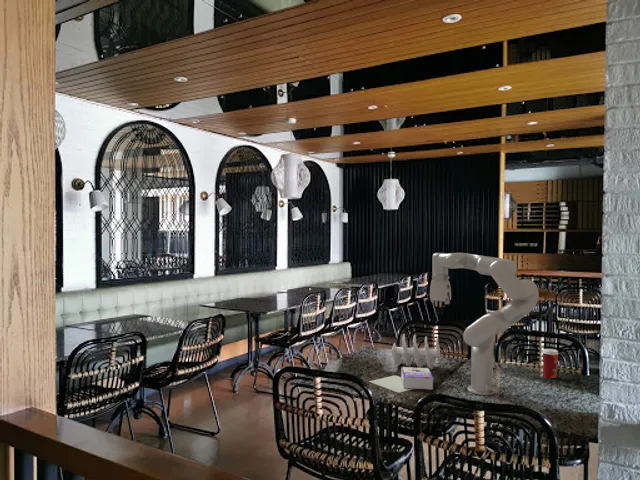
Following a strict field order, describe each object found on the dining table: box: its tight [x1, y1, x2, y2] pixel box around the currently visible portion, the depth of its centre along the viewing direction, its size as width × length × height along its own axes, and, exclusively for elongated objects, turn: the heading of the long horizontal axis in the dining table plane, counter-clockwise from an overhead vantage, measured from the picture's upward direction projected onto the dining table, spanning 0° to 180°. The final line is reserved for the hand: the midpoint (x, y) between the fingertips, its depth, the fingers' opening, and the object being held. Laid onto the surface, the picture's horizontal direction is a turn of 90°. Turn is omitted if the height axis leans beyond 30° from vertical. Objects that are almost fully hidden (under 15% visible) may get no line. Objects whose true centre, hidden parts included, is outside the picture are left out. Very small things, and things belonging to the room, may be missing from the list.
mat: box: [368, 375, 413, 394], centre depth 237 cm, size 20×18×1 cm
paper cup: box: [541, 348, 559, 379], centre depth 251 cm, size 8×8×14 cm
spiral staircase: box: [391, 333, 441, 371], centre depth 267 cm, size 18×18×25 cm
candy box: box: [400, 366, 434, 391], centre depth 237 cm, size 14×6×16 cm
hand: (439, 314), depth 243 cm, fingers closed
